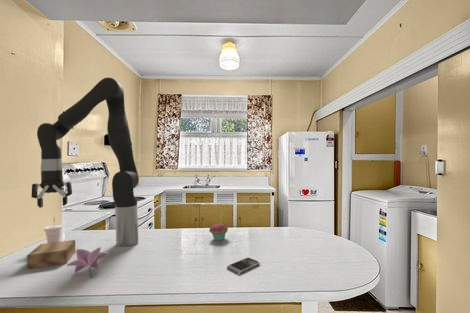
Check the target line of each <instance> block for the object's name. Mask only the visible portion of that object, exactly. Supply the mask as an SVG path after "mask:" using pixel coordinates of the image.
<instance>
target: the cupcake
mask: <svg viewBox="0 0 470 313" xmlns="http://www.w3.org/2000/svg"><path fill="white" fill-rule="evenodd" d="M222 220H223V215H222V214H221V215H220V218H219V223H214V224H212V225H211V226H210V227H209V231H208V232H210V234H211V235H212V237H213V240H214V241H218V242H219V241H224V239H225V237H226V234H227V233H228V230H229V227H228V226H227V225H226V224H224V223H222Z"/></svg>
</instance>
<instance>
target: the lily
mask: <svg viewBox="0 0 470 313" xmlns="http://www.w3.org/2000/svg"><path fill="white" fill-rule="evenodd" d="M101 249H102V246H101V247H97V248H95V249H94V250H92V251H90V250H87V249H84V248H83V249H82V248H78V249H76V252H75V253H76V254H75V255H76V260H75V259H74V260H73V261H71V262H69V263H66V264H65V265H66V266H65V267H71V266H72V267H73V266H75V268H74V274H76V273H78V272H80V271H81V270H83V269H85V268H87V267H88V269H89V270H88V272H89V276H90V279H93V277H92V272H91V268H95V269H98V268H99V261H100V260H101V259H103V258H106V257H107V256H110V255H111V254H112V253H111V252H106V251H104V252H101Z"/></svg>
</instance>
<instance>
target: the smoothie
mask: <svg viewBox="0 0 470 313" xmlns="http://www.w3.org/2000/svg"><path fill="white" fill-rule="evenodd" d="M52 219H53V220H52V221H53V225H48V226H45V227H44V229H43V231H44V232H45V236H46V242H47V243H54V242H61V236H62V229H63V225H62V224H56V216H53V218H52Z"/></svg>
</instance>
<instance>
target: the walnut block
mask: <svg viewBox="0 0 470 313" xmlns="http://www.w3.org/2000/svg"><path fill="white" fill-rule="evenodd" d="M76 250H77V249H76V239H73V240H72V239H71V240H63V241H60V242H54V243H40V244H39V245H38V246H37V247H35V248H34V249H33V250H31V251H30V252H29V253H28V254H27V255H26V258H27V259H26V260H27V261H26V262H27V269H28V270H31V269H36V268H37V269H38V268H42V267H50V266H51V267H52V266H57V264H58V265H62V264H63V263H65V264H68V262H69V261H70V259H71V258H72V257H73V256H74V255H75V253H76ZM63 265H64V264H63Z"/></svg>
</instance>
